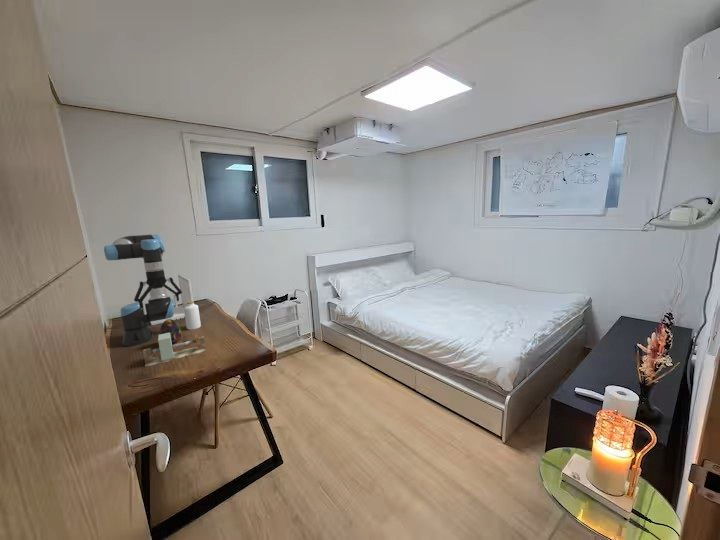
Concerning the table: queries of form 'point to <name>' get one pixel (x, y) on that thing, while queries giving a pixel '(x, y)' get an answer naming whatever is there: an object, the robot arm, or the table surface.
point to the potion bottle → (192, 316)
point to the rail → (179, 354)
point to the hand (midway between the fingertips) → (161, 310)
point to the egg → (171, 330)
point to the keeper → (165, 346)
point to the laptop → (186, 297)
